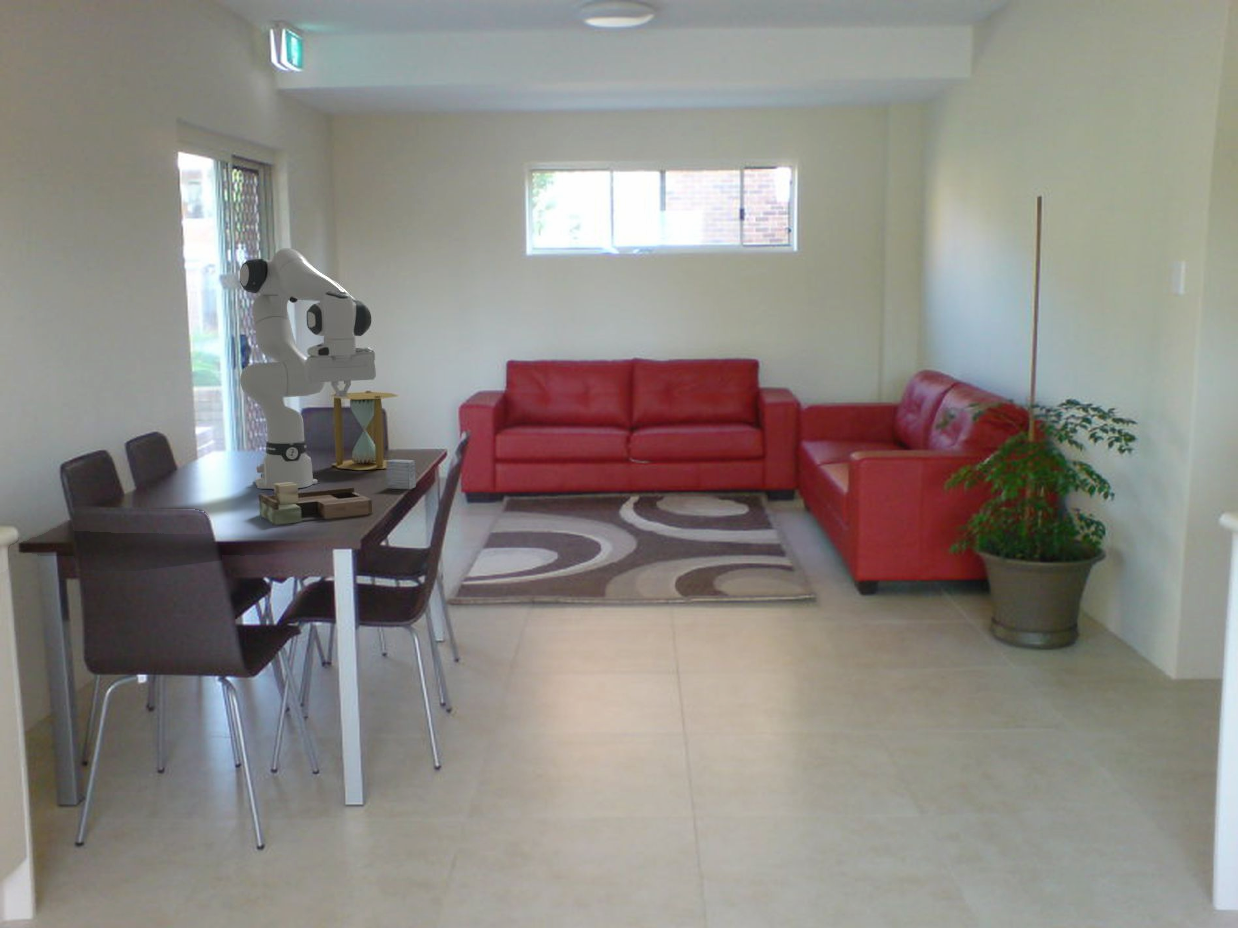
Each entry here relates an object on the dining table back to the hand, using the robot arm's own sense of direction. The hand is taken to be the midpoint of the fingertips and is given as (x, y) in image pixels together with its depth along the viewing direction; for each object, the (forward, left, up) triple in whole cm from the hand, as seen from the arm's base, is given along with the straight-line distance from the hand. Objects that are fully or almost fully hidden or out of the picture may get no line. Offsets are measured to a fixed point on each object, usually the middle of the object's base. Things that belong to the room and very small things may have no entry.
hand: (341, 396), depth 341 cm
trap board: (+11, -12, -31) cm, 35 cm away
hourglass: (-61, +29, -31) cm, 74 cm away
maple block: (+10, -20, -27) cm, 35 cm away
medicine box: (-14, +23, -31) cm, 41 cm away
